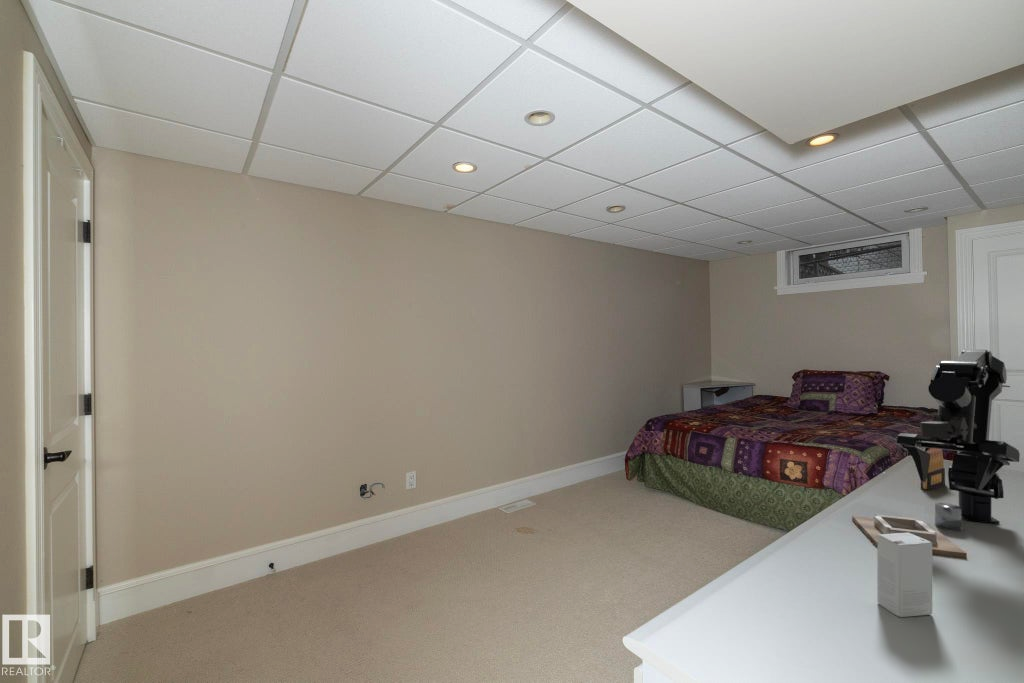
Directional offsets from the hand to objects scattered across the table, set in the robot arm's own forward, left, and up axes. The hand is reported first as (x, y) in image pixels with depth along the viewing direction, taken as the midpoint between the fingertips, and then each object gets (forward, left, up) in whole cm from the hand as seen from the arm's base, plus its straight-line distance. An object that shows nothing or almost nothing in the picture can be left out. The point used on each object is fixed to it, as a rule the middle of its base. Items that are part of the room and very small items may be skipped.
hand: (949, 485), depth 96 cm
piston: (-13, +5, -13) cm, 19 cm away
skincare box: (+30, -19, -13) cm, 38 cm away
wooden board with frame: (-3, -7, -13) cm, 15 cm away
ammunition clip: (-47, +16, -13) cm, 51 cm away
